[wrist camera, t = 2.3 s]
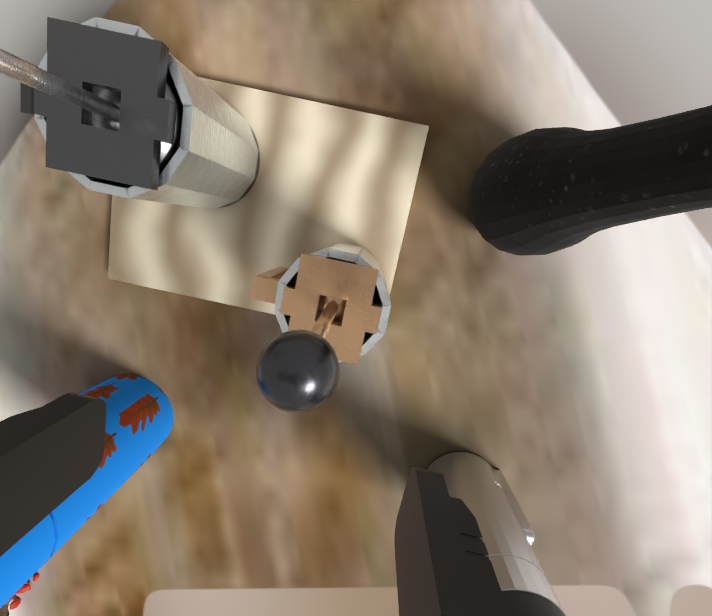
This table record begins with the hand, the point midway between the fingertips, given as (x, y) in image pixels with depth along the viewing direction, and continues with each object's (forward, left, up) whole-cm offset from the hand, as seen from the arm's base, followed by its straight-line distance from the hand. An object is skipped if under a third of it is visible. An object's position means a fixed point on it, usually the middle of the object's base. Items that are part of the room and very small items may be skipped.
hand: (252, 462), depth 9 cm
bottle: (-15, -12, -32) cm, 37 cm away
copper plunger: (0, 0, -19) cm, 19 cm away
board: (+11, -6, -32) cm, 34 cm away
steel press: (+17, -10, -30) cm, 36 cm away
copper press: (+1, 0, -30) cm, 30 cm away
